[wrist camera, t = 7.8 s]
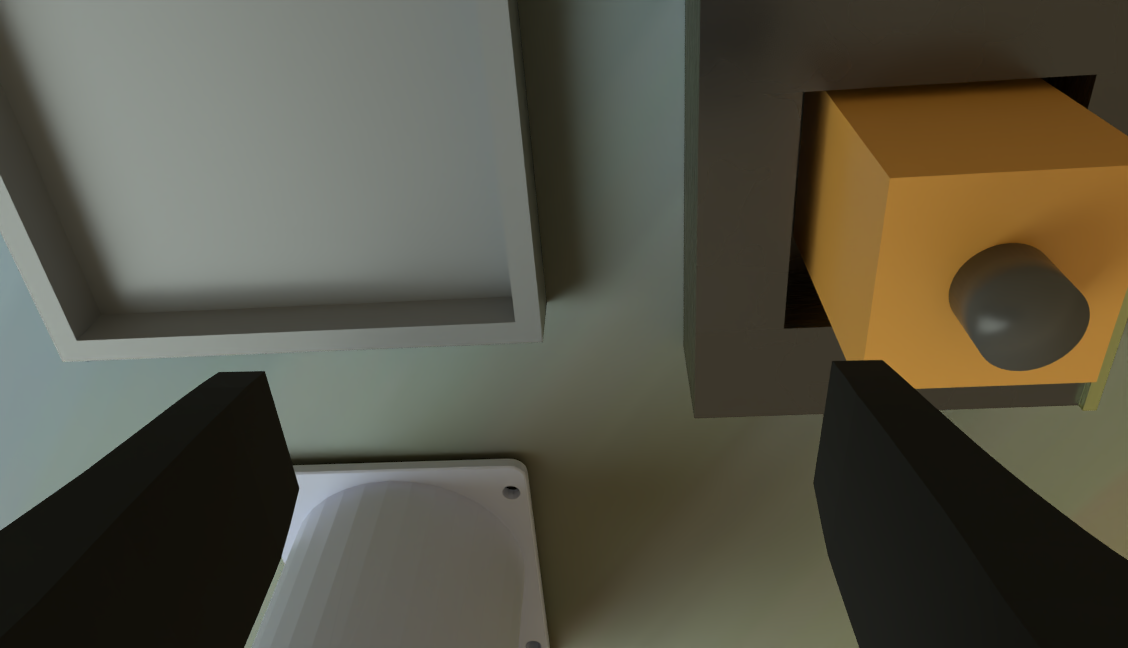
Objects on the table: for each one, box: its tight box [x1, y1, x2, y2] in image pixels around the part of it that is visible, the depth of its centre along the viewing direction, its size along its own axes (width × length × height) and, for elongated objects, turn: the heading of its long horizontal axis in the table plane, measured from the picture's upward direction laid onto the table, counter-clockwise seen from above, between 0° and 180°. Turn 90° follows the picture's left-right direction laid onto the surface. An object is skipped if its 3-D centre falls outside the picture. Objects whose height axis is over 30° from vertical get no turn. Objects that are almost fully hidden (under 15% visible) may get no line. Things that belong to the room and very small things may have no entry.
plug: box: [793, 78, 1128, 389], centre depth 16 cm, size 4×4×7 cm
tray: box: [0, 0, 547, 362], centre depth 18 cm, size 12×12×2 cm
